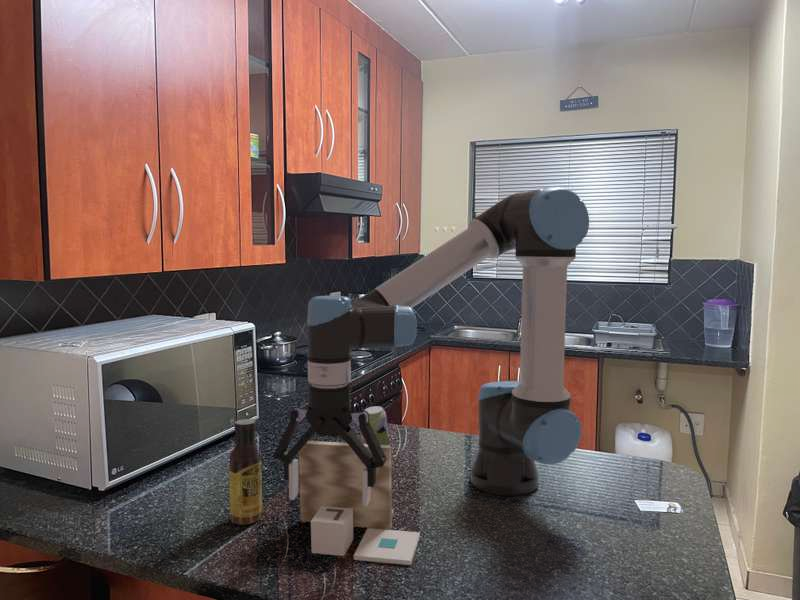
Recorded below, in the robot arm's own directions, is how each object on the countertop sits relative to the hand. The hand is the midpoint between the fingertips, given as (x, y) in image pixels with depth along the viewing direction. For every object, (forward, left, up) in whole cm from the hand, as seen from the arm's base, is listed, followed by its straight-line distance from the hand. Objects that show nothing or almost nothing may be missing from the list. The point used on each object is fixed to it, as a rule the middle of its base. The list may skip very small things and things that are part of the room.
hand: (329, 500), depth 107 cm
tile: (-10, -1, -9) cm, 14 cm away
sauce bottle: (+20, -7, -9) cm, 23 cm away
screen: (0, -11, -9) cm, 14 cm away
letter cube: (0, 0, -9) cm, 9 cm away
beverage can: (+3, -48, -9) cm, 49 cm away
